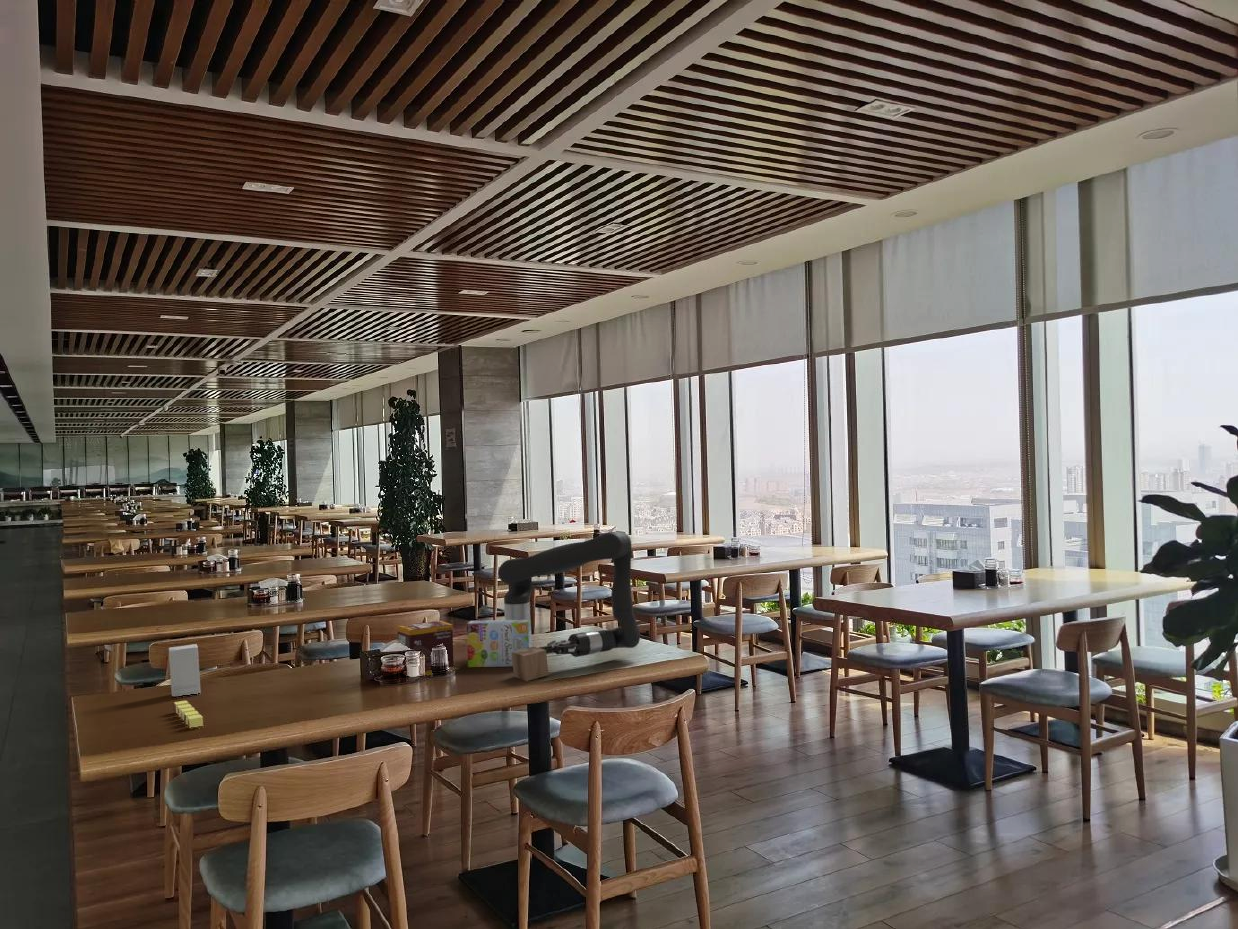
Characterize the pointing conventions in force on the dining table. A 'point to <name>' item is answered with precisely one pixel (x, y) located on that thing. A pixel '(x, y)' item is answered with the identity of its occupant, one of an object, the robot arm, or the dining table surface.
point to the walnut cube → (530, 663)
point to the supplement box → (428, 639)
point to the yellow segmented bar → (188, 714)
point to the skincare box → (184, 670)
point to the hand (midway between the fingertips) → (539, 651)
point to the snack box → (496, 641)
